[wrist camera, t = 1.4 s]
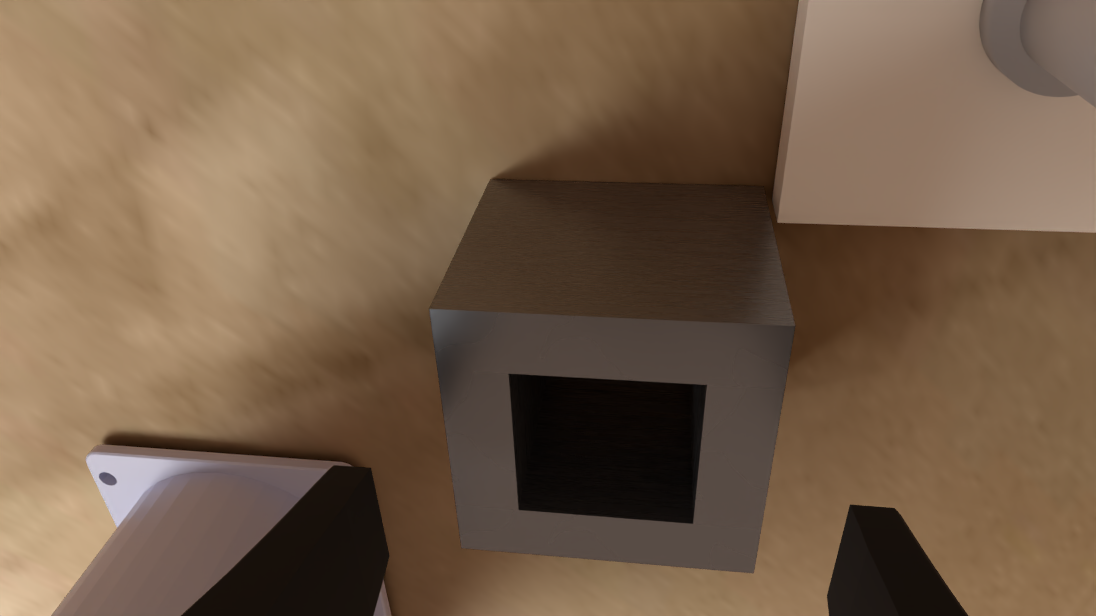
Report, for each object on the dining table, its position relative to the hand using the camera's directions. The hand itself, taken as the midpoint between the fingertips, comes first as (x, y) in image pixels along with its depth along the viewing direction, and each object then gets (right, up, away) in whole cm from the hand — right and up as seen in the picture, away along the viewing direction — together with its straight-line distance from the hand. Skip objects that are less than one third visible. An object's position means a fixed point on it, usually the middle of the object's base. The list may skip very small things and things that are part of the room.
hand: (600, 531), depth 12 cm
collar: (+1, +4, +6) cm, 7 cm away
